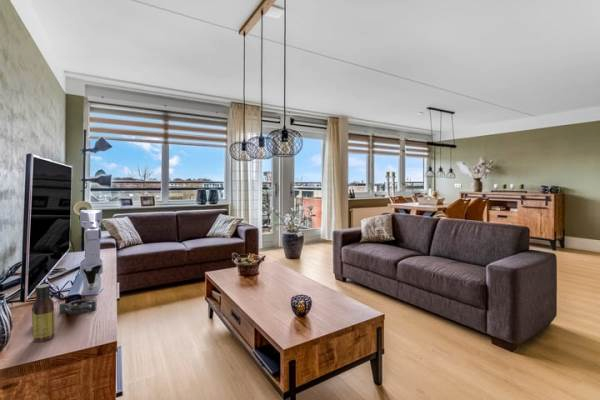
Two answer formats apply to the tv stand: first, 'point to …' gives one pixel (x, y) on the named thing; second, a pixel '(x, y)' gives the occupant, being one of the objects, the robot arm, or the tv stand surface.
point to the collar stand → (78, 307)
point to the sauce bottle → (43, 314)
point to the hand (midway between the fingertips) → (92, 282)
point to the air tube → (95, 285)
